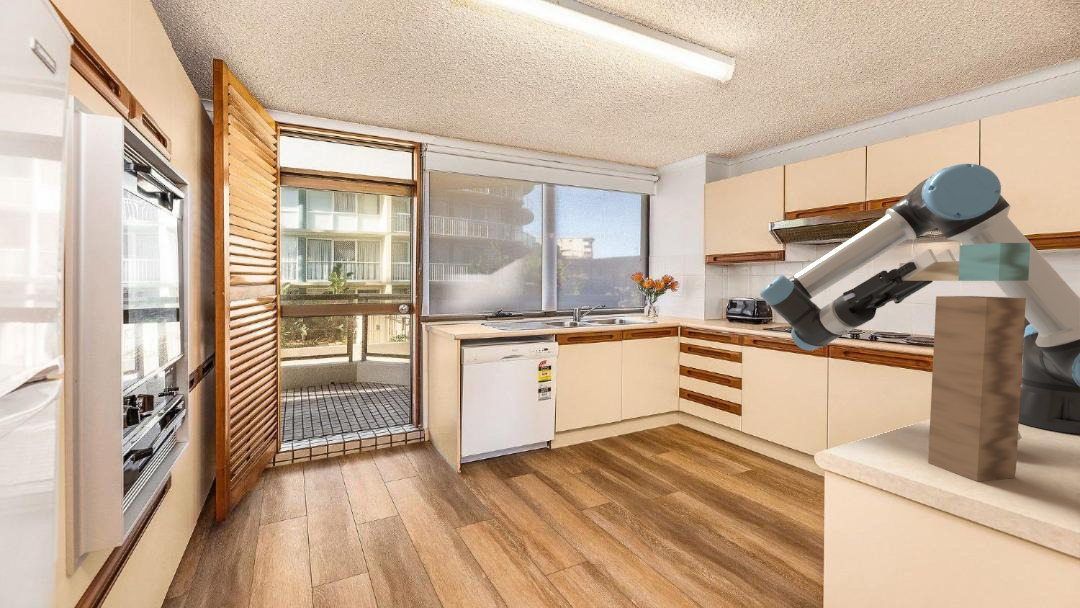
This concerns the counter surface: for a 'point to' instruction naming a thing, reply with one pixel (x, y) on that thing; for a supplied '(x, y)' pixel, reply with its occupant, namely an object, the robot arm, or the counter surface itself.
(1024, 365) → the robot arm
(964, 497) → the counter surface
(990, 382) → the stand
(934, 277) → the mallet
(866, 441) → the counter surface
